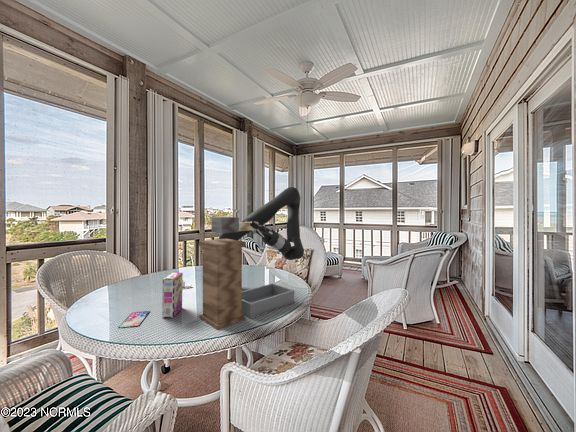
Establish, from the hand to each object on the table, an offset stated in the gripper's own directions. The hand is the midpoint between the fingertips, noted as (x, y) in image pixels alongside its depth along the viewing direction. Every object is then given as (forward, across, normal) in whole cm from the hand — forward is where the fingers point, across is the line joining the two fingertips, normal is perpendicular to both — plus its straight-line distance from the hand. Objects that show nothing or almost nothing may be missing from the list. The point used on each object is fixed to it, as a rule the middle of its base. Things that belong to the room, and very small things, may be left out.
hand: (248, 222), depth 116 cm
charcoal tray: (-27, 0, +30) cm, 40 cm away
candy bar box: (+3, -20, +47) cm, 51 cm away
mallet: (+3, 0, +6) cm, 6 cm away
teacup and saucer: (-12, -49, +39) cm, 64 cm away
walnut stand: (-8, 0, +40) cm, 41 cm away
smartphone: (+14, -24, +54) cm, 61 cm away
